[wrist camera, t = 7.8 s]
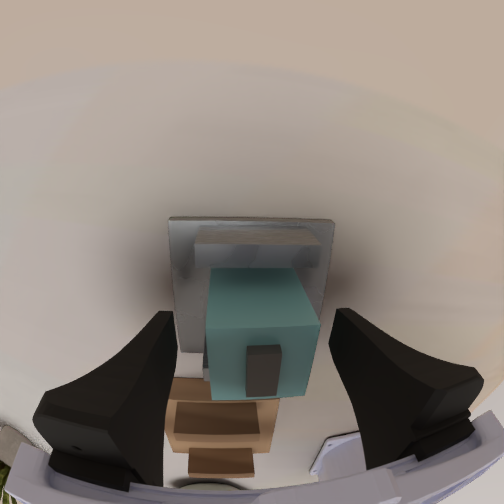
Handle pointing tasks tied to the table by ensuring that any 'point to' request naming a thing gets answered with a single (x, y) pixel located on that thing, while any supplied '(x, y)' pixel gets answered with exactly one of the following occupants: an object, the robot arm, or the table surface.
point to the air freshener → (209, 487)
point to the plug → (259, 334)
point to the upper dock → (217, 429)
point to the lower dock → (241, 262)
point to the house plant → (8, 456)
